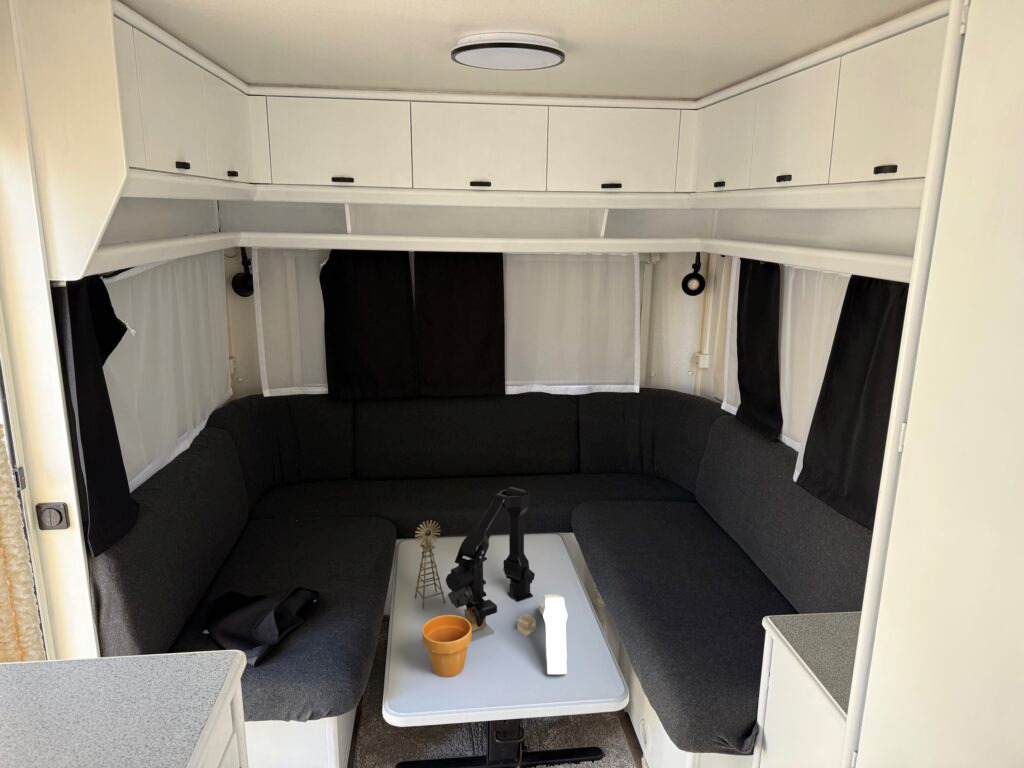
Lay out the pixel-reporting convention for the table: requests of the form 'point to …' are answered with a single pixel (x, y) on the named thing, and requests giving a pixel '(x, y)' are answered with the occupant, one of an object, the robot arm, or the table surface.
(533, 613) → the table surface
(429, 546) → the miniature windmill
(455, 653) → the flower pot
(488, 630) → the plate
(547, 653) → the white elongated block
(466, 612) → the walnut cube
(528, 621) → the maple cube
